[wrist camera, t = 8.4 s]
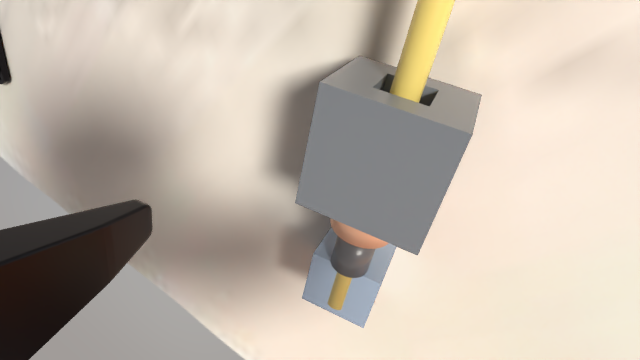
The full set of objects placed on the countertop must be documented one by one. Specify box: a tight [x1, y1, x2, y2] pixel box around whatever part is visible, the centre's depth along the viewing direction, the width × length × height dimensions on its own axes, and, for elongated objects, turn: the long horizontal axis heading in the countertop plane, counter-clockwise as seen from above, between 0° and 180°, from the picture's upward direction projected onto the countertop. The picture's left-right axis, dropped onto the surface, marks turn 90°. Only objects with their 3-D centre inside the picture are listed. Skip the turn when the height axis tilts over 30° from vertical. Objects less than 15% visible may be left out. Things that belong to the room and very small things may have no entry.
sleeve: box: [295, 56, 482, 255], centre depth 16 cm, size 5×5×4 cm
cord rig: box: [302, 0, 455, 328], centre depth 14 cm, size 28×8×5 cm, turn 168°
